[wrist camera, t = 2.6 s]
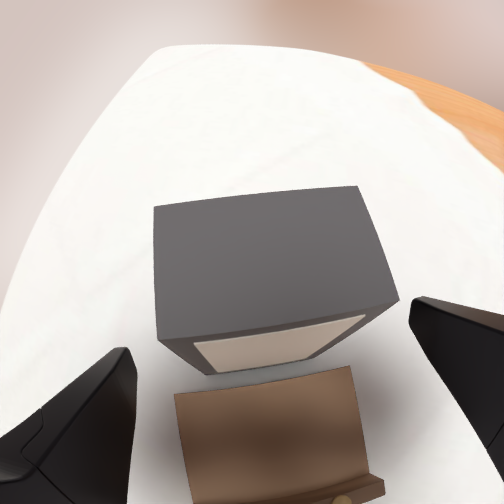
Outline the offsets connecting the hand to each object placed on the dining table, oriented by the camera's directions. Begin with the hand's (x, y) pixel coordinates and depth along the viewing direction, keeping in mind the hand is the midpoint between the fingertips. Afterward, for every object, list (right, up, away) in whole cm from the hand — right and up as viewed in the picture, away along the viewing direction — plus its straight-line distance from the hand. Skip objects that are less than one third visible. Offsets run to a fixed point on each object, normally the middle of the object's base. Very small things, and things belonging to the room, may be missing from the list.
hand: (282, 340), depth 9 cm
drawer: (0, -9, +6) cm, 11 cm away
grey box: (-1, -3, +10) cm, 10 cm away
